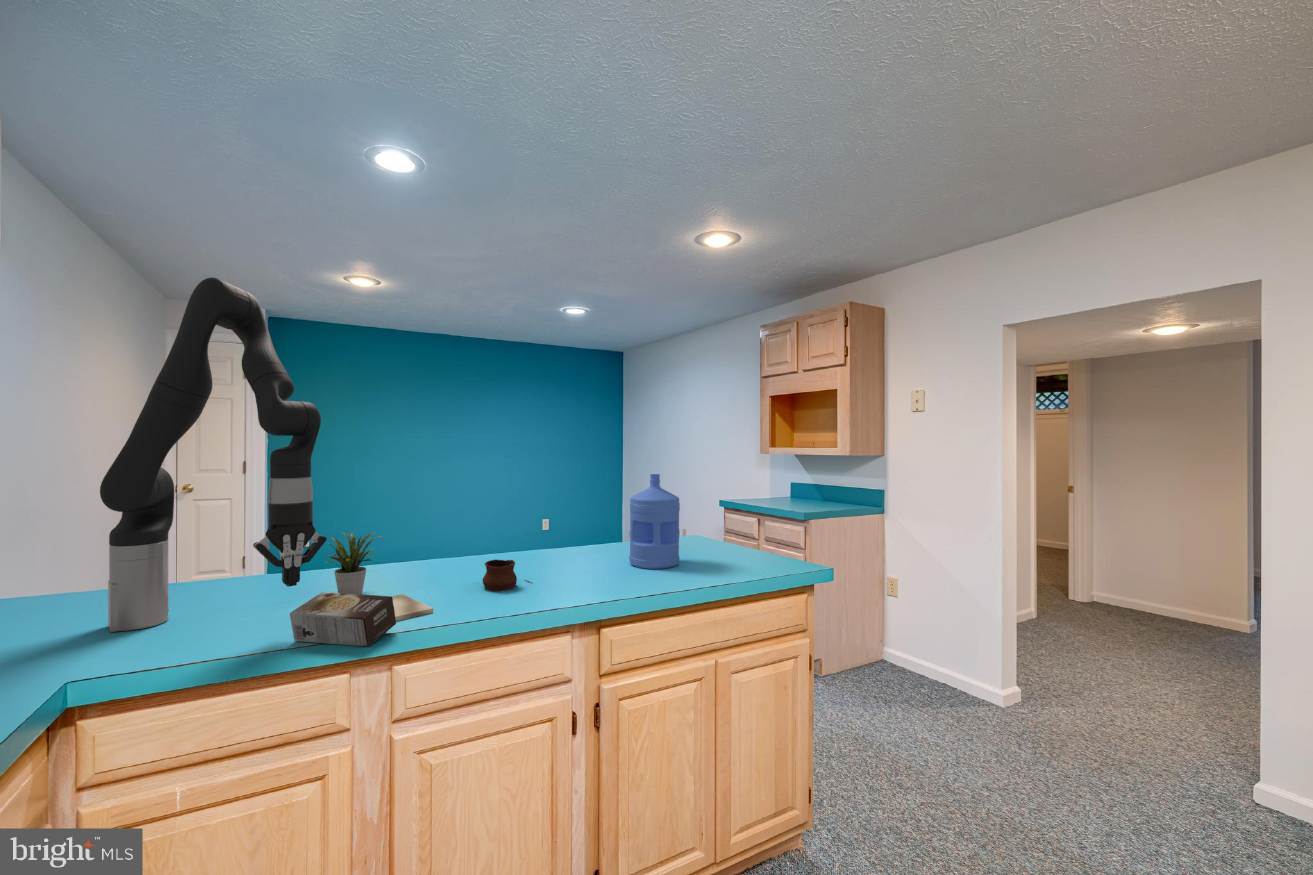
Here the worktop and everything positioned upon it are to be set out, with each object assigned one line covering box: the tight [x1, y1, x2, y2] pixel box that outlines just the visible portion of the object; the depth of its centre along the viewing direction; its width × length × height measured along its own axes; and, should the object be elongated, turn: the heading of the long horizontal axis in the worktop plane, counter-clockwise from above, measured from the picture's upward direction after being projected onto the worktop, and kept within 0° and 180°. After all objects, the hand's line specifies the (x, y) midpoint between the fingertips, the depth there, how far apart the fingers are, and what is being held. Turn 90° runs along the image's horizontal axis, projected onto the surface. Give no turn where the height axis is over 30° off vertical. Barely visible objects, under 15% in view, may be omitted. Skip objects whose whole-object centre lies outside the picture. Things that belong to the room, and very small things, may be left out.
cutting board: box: [392, 593, 434, 622], centre depth 128 cm, size 19×16×1 cm
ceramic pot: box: [482, 559, 534, 592], centre depth 151 cm, size 18×18×7 cm
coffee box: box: [289, 592, 397, 648], centre depth 114 cm, size 9×6×16 cm
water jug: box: [628, 473, 681, 570], centre depth 180 cm, size 16×16×28 cm
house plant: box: [325, 530, 383, 595], centre depth 144 cm, size 14×14×16 cm
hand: (291, 585), depth 116 cm, fingers closed
